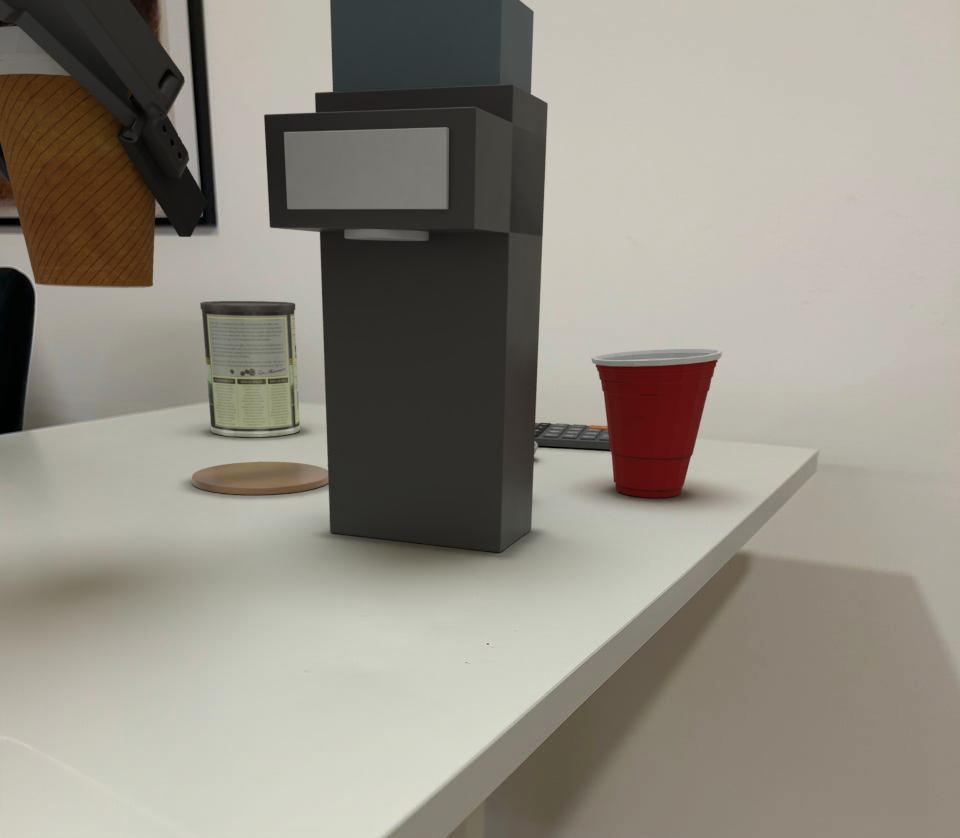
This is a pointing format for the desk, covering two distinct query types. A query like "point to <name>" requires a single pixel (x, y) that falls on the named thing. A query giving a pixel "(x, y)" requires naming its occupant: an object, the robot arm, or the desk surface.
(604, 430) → the calculator
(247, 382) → the coffee can
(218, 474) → the coaster
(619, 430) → the plastic cup
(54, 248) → the disposable coffee cup
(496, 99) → the coffee maker
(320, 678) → the desk surface
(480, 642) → the desk surface
